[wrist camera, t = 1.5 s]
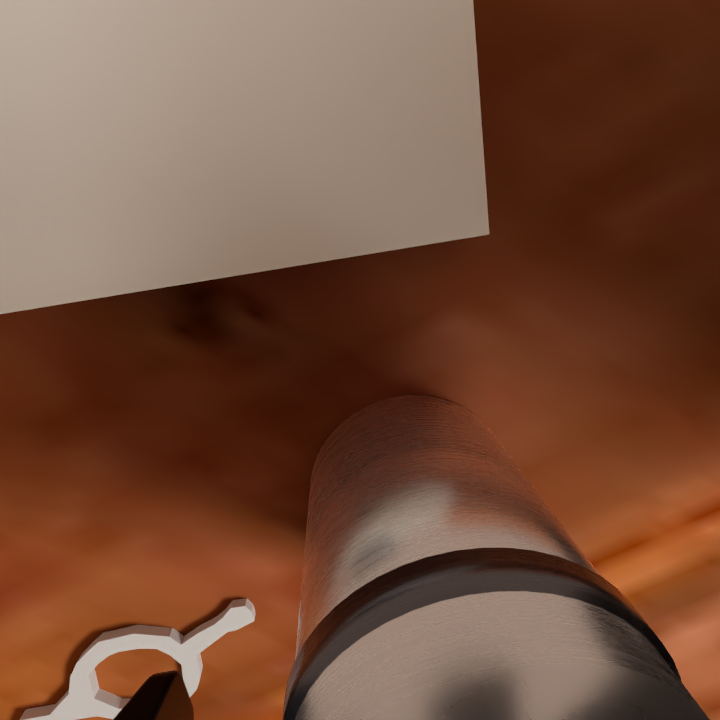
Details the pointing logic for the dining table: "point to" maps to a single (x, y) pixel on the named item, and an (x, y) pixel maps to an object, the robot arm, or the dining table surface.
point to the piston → (457, 588)
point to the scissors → (185, 649)
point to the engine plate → (229, 139)
